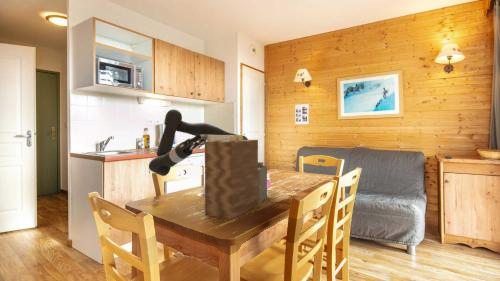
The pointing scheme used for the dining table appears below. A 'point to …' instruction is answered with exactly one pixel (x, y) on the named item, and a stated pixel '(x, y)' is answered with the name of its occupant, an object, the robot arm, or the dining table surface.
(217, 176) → the stand
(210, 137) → the t key
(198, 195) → the teacup and saucer
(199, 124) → the robot arm
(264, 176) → the hip flask
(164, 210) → the dining table surface
